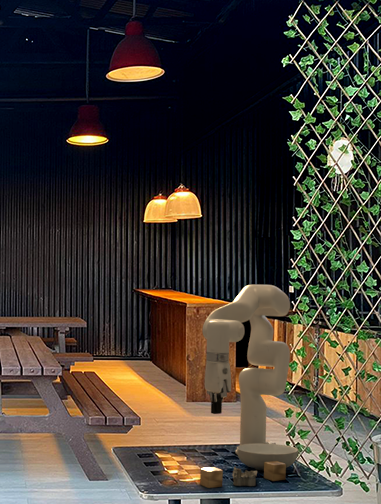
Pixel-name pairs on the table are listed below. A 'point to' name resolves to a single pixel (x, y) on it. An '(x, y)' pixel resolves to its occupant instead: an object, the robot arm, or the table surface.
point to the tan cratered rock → (244, 477)
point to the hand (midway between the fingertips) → (216, 413)
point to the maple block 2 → (275, 470)
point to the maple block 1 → (211, 477)
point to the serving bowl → (266, 454)
